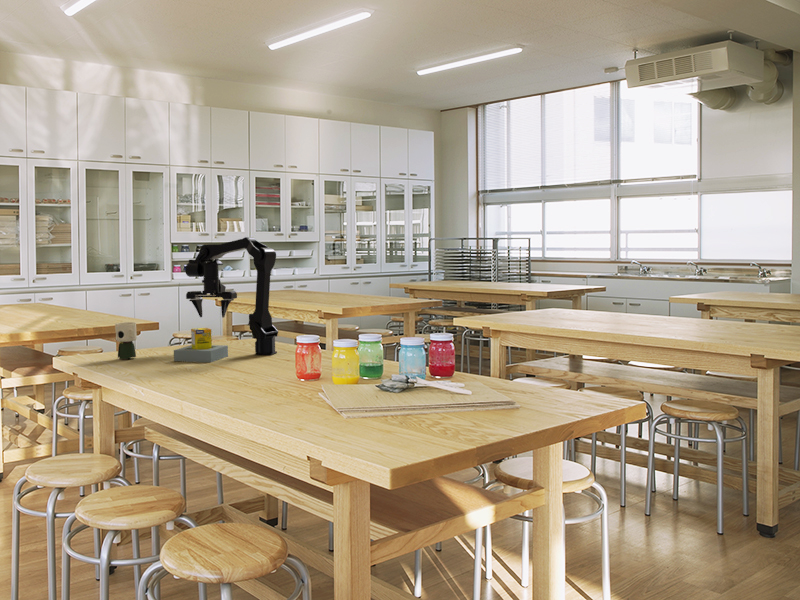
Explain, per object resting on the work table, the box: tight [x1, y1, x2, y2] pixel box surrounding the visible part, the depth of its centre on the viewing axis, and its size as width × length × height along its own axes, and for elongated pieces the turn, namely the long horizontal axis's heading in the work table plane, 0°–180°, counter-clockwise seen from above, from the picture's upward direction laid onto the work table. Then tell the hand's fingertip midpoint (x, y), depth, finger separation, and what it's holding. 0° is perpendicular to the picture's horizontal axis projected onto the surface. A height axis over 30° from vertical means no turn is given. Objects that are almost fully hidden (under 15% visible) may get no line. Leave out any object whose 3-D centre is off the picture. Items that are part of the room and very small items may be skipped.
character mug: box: [114, 321, 138, 360], centre depth 256 cm, size 11×7×13 cm, turn 49°
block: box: [173, 344, 229, 363], centre depth 255 cm, size 14×14×4 cm
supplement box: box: [190, 327, 213, 350], centre depth 255 cm, size 6×6×11 cm
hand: (212, 317), depth 275 cm, fingers open, 9 cm apart
